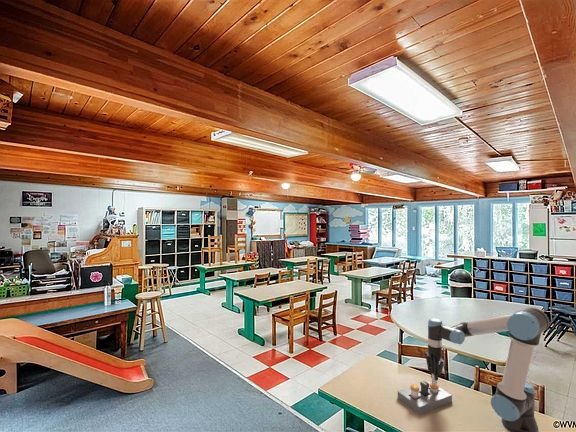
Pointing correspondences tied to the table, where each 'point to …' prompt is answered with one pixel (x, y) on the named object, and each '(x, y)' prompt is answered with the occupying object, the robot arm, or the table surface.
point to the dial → (424, 388)
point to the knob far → (434, 388)
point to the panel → (425, 399)
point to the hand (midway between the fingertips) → (434, 384)
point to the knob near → (414, 391)
